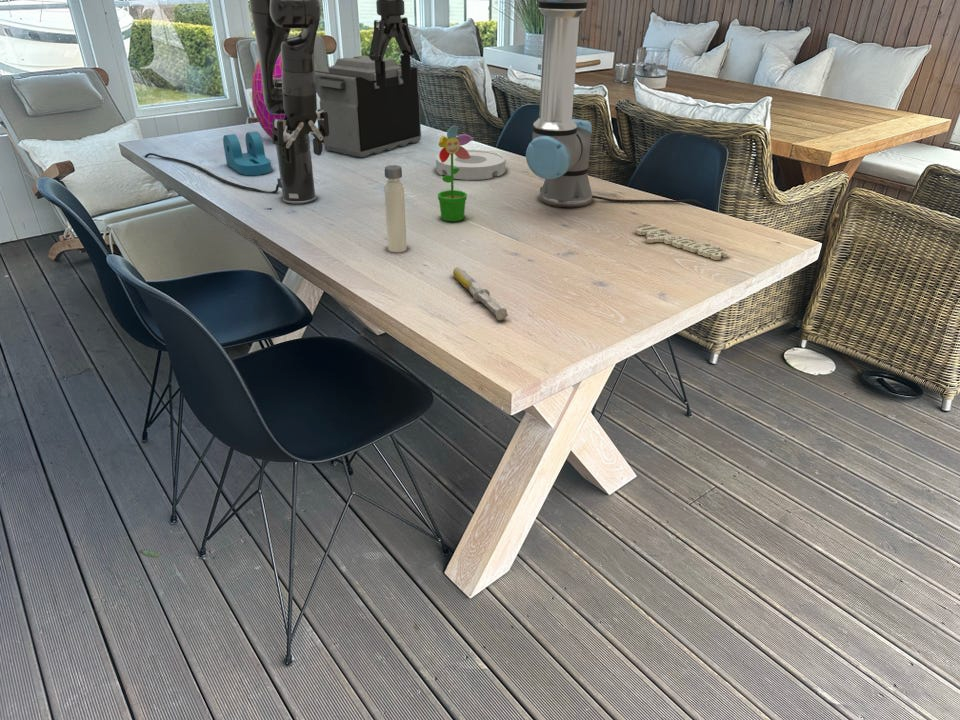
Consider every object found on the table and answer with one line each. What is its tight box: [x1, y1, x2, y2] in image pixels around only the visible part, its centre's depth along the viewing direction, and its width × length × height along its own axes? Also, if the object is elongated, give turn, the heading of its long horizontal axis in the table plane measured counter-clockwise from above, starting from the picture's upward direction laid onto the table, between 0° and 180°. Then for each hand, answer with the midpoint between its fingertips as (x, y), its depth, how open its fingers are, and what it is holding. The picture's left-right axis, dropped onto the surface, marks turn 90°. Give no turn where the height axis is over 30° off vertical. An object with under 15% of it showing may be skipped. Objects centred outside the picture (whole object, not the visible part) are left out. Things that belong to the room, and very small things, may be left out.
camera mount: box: [222, 131, 272, 176], centre depth 226 cm, size 18×10×10 cm, turn 35°
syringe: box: [452, 266, 509, 321], centre depth 145 cm, size 25×4×3 cm, turn 21°
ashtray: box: [435, 149, 507, 181], centre depth 229 cm, size 23×23×4 cm
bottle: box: [383, 178, 407, 253], centre depth 163 cm, size 4×4×20 cm
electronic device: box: [314, 55, 422, 159], centre depth 250 cm, size 37×22×30 cm, turn 144°
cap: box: [384, 164, 403, 180], centre depth 159 cm, size 4×4×2 cm
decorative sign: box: [636, 222, 728, 261], centre depth 173 cm, size 26×1×10 cm
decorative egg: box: [251, 54, 285, 139], centre depth 257 cm, size 19×19×30 cm
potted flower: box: [437, 124, 474, 222], centre depth 182 cm, size 9×8×25 cm
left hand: (302, 158), depth 166 cm, fingers open, 8 cm apart
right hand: (394, 83), depth 195 cm, fingers open, 13 cm apart
